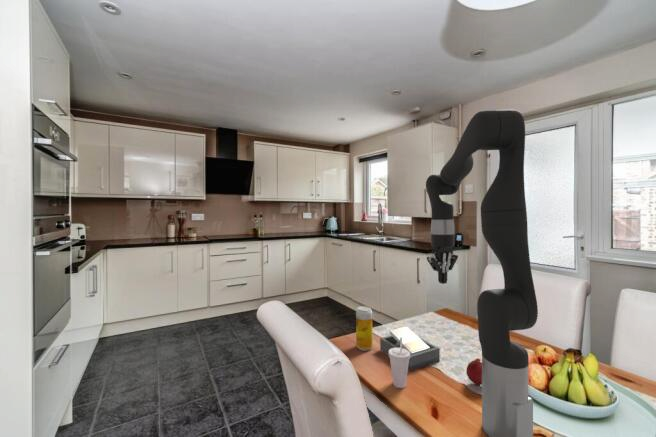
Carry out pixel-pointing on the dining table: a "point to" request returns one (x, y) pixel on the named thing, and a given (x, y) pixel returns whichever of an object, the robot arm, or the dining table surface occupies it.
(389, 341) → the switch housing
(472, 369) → the onion
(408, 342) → the plate
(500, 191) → the robot arm
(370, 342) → the glass of beer
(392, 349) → the smoothie
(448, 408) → the dining table surface
